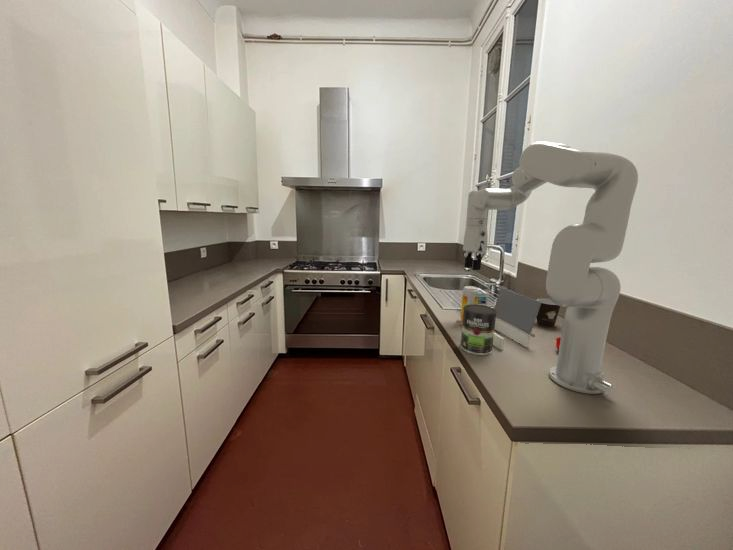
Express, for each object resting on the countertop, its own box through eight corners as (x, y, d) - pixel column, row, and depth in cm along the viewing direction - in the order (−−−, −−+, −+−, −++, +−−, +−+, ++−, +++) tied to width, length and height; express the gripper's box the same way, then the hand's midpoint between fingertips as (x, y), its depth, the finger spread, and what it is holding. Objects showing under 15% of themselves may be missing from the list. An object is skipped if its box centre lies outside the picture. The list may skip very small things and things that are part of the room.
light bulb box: (486, 316, 132) (488, 293, 130) (471, 316, 132) (473, 293, 130) (478, 309, 143) (480, 287, 140) (464, 308, 143) (465, 287, 140)
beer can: (473, 319, 126) (476, 286, 123) (477, 325, 120) (480, 289, 117) (459, 319, 127) (461, 285, 124) (462, 324, 121) (465, 289, 118)
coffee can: (491, 358, 93) (496, 315, 90) (458, 351, 97) (461, 310, 94) (493, 345, 102) (497, 306, 99) (462, 340, 106) (465, 302, 104)
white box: (533, 348, 100) (535, 334, 99) (503, 352, 97) (505, 337, 96) (490, 324, 122) (491, 312, 121) (465, 326, 119) (466, 314, 118)
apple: (570, 332, 101) (556, 327, 98) (589, 343, 95) (575, 338, 92) (558, 348, 103) (545, 344, 99) (576, 360, 97) (563, 356, 93)
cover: (528, 334, 100) (530, 335, 101) (539, 301, 99) (542, 302, 99) (491, 315, 119) (494, 316, 119) (500, 287, 117) (503, 288, 118)
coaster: (483, 325, 121) (483, 324, 120) (463, 327, 119) (463, 326, 118) (471, 318, 129) (471, 317, 129) (452, 319, 127) (452, 319, 127)
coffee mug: (557, 323, 124) (561, 300, 122) (557, 330, 117) (561, 306, 115) (526, 318, 130) (529, 296, 128) (524, 324, 123) (527, 301, 121)
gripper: (498, 223, 108) (493, 272, 112) (472, 222, 125) (468, 264, 128) (480, 223, 107) (476, 272, 110) (456, 222, 123) (453, 265, 126)
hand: (472, 268), depth 119 cm, fingers open, 4 cm apart
